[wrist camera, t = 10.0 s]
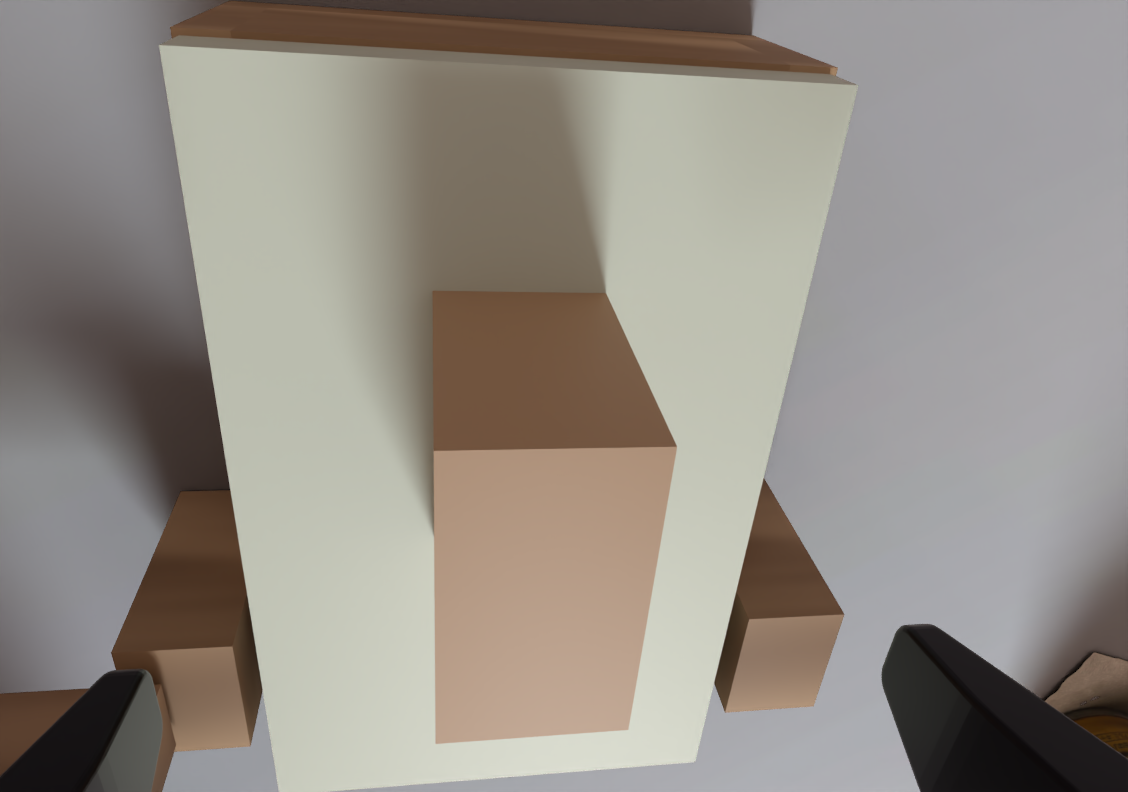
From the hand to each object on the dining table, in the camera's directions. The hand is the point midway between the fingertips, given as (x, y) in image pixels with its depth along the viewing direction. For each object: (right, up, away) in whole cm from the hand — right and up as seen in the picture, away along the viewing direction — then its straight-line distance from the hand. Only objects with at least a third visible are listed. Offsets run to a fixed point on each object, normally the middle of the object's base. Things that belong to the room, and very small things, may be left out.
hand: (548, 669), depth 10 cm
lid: (-1, +2, +6) cm, 7 cm away
